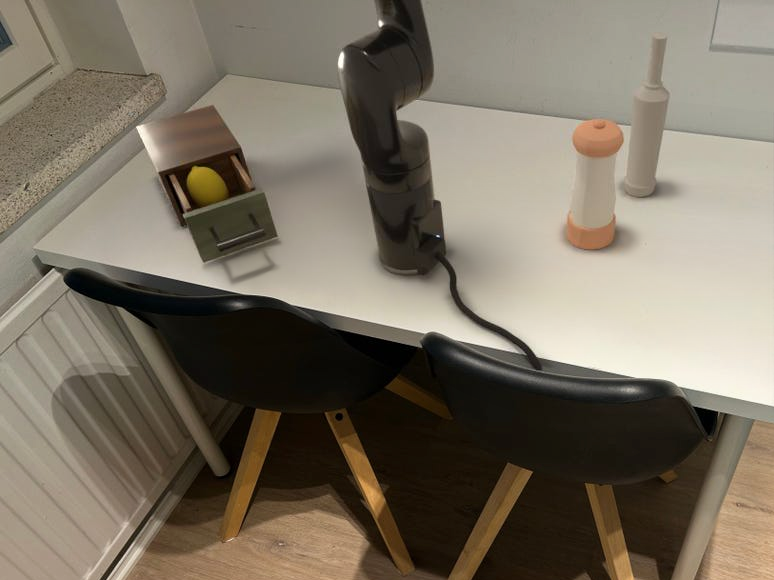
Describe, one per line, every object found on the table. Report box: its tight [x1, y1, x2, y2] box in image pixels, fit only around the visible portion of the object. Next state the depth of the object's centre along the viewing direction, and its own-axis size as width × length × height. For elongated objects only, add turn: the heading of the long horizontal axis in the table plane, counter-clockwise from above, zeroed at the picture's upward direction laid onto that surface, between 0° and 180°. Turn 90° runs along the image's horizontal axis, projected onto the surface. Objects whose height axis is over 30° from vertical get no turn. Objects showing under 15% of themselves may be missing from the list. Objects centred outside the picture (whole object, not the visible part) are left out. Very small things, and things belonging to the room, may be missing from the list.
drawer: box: [168, 154, 279, 264], centre depth 110 cm, size 21×12×8 cm, turn 30°
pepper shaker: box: [566, 118, 625, 251], centre depth 104 cm, size 7×7×19 cm
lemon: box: [187, 166, 229, 208], centre depth 113 cm, size 6×6×8 cm
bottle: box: [623, 32, 671, 198], centre depth 109 cm, size 5×5×25 cm
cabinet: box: [136, 104, 253, 227], centre depth 120 cm, size 17×13×10 cm
